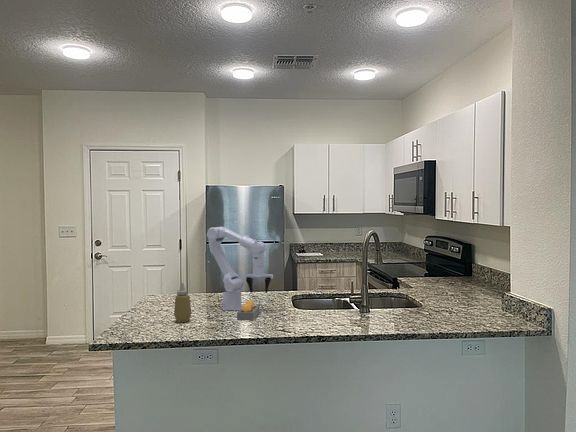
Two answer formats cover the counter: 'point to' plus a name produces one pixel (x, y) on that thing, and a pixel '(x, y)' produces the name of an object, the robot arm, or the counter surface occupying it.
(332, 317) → the counter surface
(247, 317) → the housing
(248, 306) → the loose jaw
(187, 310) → the squeeze bottle
